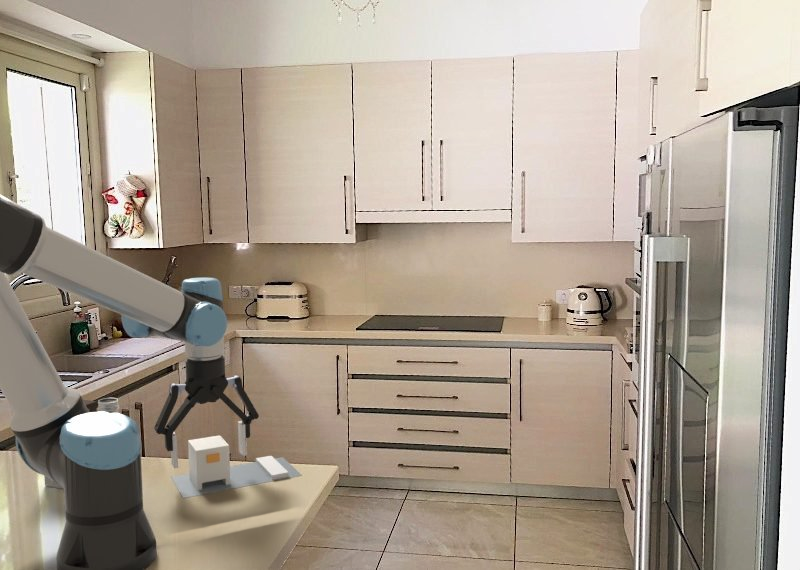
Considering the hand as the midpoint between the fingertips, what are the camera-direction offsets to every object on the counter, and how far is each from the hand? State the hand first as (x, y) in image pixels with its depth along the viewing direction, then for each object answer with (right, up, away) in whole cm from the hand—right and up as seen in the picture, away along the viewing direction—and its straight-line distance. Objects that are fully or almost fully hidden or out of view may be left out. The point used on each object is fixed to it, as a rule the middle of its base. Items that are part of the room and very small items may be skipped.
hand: (209, 459), depth 150 cm
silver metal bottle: (-17, -7, -5) cm, 19 cm away
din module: (0, -4, 0) cm, 4 cm away
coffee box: (-30, -6, +5) cm, 31 cm away
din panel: (+5, -6, +3) cm, 8 cm away
